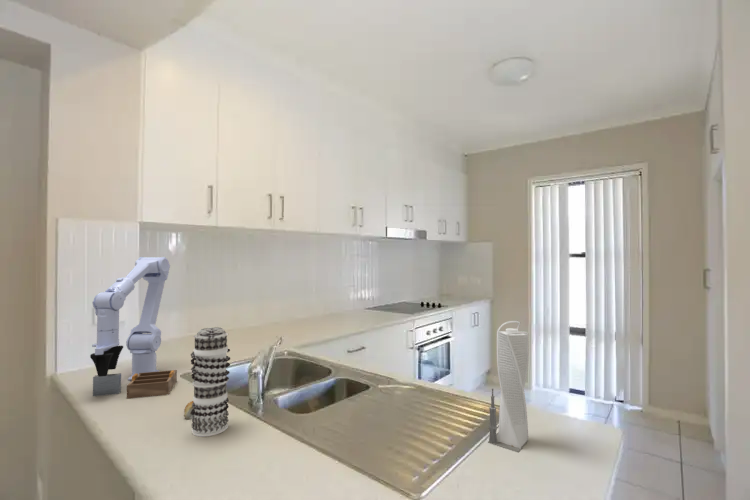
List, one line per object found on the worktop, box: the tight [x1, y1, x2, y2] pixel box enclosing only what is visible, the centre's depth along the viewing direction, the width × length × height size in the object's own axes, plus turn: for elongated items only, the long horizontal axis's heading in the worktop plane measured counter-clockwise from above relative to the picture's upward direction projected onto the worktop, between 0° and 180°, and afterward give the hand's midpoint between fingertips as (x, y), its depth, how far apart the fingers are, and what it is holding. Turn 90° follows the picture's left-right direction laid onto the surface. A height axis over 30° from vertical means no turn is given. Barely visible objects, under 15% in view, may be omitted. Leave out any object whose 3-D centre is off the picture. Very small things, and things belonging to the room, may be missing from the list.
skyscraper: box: [487, 320, 530, 453], centre depth 88 cm, size 8×8×28 cm
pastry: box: [183, 400, 194, 420], centre depth 105 cm, size 9×7×4 cm
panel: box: [92, 373, 122, 397], centre depth 119 cm, size 2×7×6 cm, turn 108°
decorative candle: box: [190, 326, 231, 438], centre depth 95 cm, size 9×9×25 cm
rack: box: [126, 369, 178, 400], centre depth 123 cm, size 14×11×5 cm
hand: (107, 372), depth 119 cm, fingers open, 7 cm apart
